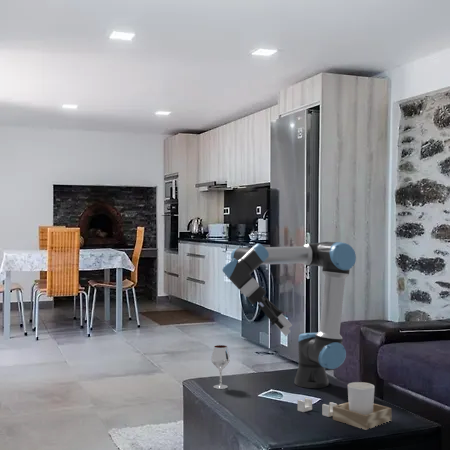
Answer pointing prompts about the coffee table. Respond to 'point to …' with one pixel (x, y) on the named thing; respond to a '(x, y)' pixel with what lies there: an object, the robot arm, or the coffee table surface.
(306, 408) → the clips
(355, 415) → the square wooden tray
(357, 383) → the candle holder
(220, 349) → the wineglass
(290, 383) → the coffee table surface
